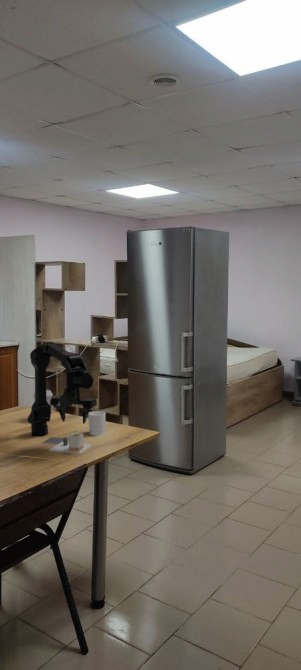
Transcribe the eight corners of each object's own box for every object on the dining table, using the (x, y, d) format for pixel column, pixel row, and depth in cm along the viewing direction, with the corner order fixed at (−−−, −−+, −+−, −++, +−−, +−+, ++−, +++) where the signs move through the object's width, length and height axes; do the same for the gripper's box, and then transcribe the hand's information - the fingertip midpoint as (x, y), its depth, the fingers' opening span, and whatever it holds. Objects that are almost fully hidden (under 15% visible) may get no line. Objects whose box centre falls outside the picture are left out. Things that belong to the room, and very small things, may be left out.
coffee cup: (30, 420, 254) (29, 391, 252) (47, 417, 260) (46, 388, 259) (40, 424, 247) (39, 394, 245) (57, 420, 253) (56, 391, 252)
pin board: (49, 452, 205) (48, 442, 205) (62, 444, 215) (61, 435, 215) (80, 455, 201) (80, 445, 200) (92, 446, 211) (91, 437, 211)
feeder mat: (42, 443, 216) (42, 442, 216) (51, 438, 224) (51, 437, 224) (58, 445, 214) (58, 444, 214) (67, 439, 221) (67, 438, 221)
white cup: (103, 437, 223) (102, 415, 223) (86, 437, 225) (85, 415, 224) (108, 432, 231) (107, 411, 230) (91, 432, 233) (91, 410, 232)
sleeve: (68, 450, 203) (68, 436, 203) (73, 447, 208) (73, 433, 207) (78, 451, 202) (78, 437, 202) (83, 448, 206) (83, 433, 206)
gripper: (42, 387, 200) (43, 425, 202) (85, 390, 194) (85, 430, 196) (56, 382, 211) (57, 418, 212) (97, 384, 205) (97, 422, 206)
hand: (73, 422), depth 206 cm, fingers open, 9 cm apart
